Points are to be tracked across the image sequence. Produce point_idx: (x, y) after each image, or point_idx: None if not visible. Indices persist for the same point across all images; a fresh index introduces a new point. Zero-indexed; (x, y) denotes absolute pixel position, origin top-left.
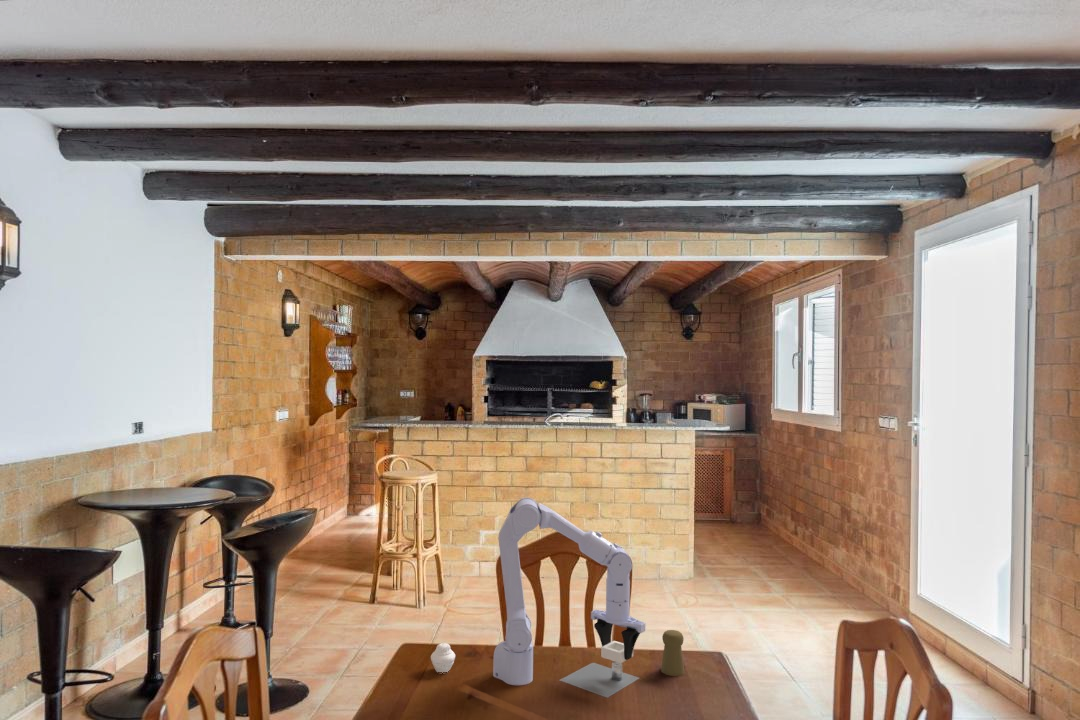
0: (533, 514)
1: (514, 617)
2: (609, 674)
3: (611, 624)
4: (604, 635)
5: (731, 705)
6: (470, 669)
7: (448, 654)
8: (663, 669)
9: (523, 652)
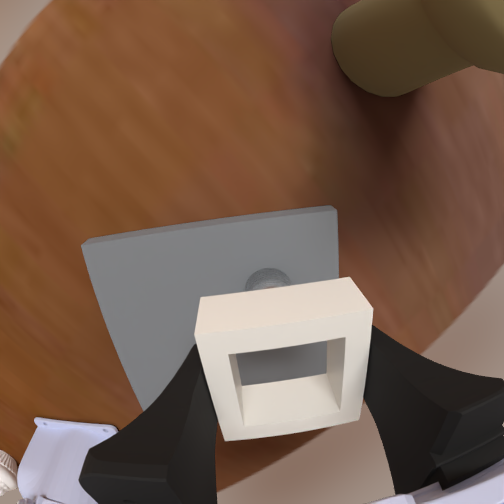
0: None
1: None
2: (217, 283)
3: (184, 470)
4: (211, 467)
5: None
6: (6, 437)
7: (6, 485)
8: (384, 83)
9: None
